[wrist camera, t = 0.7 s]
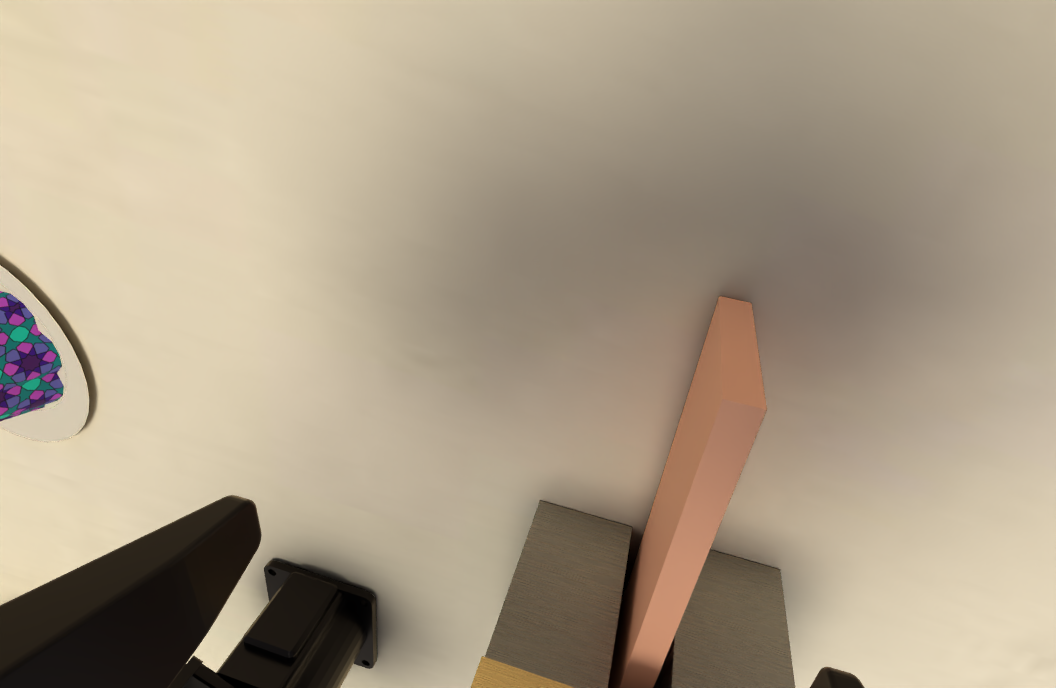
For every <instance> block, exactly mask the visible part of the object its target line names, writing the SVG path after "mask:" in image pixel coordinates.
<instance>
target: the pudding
mask: <svg viewBox="0 0 1056 688" xmlns="http://www.w3.org/2000/svg"><path fill="white" fill-rule="evenodd" d="M0 284H1V285H2V286H4V287H5V288H6V289H8V290H9V291H10V292H12V293H13V294H14V295H15V296H16V297H17V298H18V299H20V300H21V301H22V302H23V303H24V304H25V305H26V306H27V307H28V308H29V309H30V311H31V312H32V313H33V314H34V315H35V316H36V317H37V319H38V320H39V321H40V322H41V324H42V325H43V326H44V328H45V329H46V330H47V332H48V334H49V335H50V337H51V338H52V340H53V342H54V343H55V346H56V348H57V350H58V352H59V353H58V352H57V350H56V348H55V347H54V345H53V343H52V342H51V341H50V340H49V339H48V338H47V337H45V336H44V335H43V334H42V333H41V332H40V331H38V328H37V325H36V322H35V319H34V316H33V315H32V314H31V313H30V311H29V310H28V309H27V308H26V306H25V305H24V304H23V303H22V302H20V301H19V300H18V299H17V298H15V297H14V296H13V295H11V294H10V293H5V292H1V291H0V428H2V429H4V430H6V431H9V432H11V433H13V434H15V435H18V436H21V437H24V438H27V439H31V440H36V441H42V442H59V441H63V440H66V439H70V438H71V437H73V436H74V435H76V434H77V433H79V431H80V430H81V429H82V427H83V426H84V425H85V422H86V419H87V416H88V413H89V394H88V388H87V382H86V379H85V376H84V373H83V370H82V367H81V364H80V362H79V360H78V358H77V356H76V354H75V352H74V350H73V347H72V346H71V344H70V342H69V341H68V339H67V338H66V336H65V334H64V333H63V331H62V329H61V328H60V326H59V325H58V324H57V322H56V321H55V320H54V318H53V317H52V316H51V315H50V313H49V312H48V311H47V309H46V308H45V307H44V306H43V305H42V304H41V302H40V301H39V300H38V299H37V298H36V297H35V296H34V295H33V294H32V293H31V292H30V291H29V289H28V288H27V287H25V286H24V285H23V284H22V283H21V282H20V281H19V280H18V279H16V278H15V277H14V276H13V275H12V274H11V273H10V272H9V271H7V270H6V269H5V268H3V267H2V266H1V265H0ZM59 354H60V356H61V359H62V362H63V365H64V368H65V374H66V390H65V394H64V397H63V398H62V400H61V401H60V403H58V404H57V405H56V406H54V407H52V408H50V409H47V410H37V409H40V408H43V407H44V405H45V404H48V403H51V402H54V401H57V400H58V399H59V398H60V397H61V396H63V388H64V386H63V384H62V382H61V380H60V379H59V377H58V375H57V372H58V371H59V369H60V368H61V367H62V365H61V360H60V356H59Z"/></svg>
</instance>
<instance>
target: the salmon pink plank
mask: <svg viewBox="0 0 1056 688" xmlns="http://www.w3.org/2000/svg"><path fill="white" fill-rule="evenodd" d="M766 411H767V407H766V400H765V393H764V386H763V380H762V373H761V366H760V359H759V352H758V345H757V338H756V331H755V324H754V318H753V311H752V304H751V303H749V302H745V301H740V300H735V299H731V298H726V297H721V296H719V298H718V302H717V305H716V308H715V311H714V314H713V317H712V320H711V324H710V327H709V330H708V333H707V336H706V339H705V343H704V346H703V349H702V352H701V355H700V358H699V361H698V365H697V368H696V371H695V374H694V377H693V380H692V383H691V387H690V390H689V393H688V396H687V399H686V402H685V405H684V409H683V412H682V415H681V418H680V421H679V424H678V427H677V431H676V434H675V437H674V440H673V443H672V446H671V449H670V453H669V456H668V459H667V462H666V465H665V468H664V472H663V475H662V478H661V481H660V484H659V487H658V490H657V494H656V497H655V500H654V503H653V506H652V509H651V512H650V516H649V519H648V522H647V525H646V528H645V531H644V534H643V538H642V541H641V544H640V547H639V550H638V553H637V556H636V560H635V563H634V566H633V569H632V572H631V575H630V579H629V582H628V585H627V588H626V591H625V594H624V597H623V601H622V604H621V607H620V610H619V617H618V623H617V630H616V636H615V643H614V649H613V656H612V662H611V669H610V675H609V682H608V688H653V687H654V685H655V682H656V680H657V677H658V675H659V673H660V670H661V668H662V665H663V663H664V660H665V658H666V655H667V653H668V651H669V648H670V646H671V643H672V641H673V638H674V636H675V633H676V631H677V629H678V626H679V624H680V621H681V619H682V616H683V614H684V611H685V609H686V607H687V604H688V602H689V599H690V597H691V594H692V592H693V589H694V587H695V585H696V582H697V580H698V577H699V575H700V572H701V570H702V567H703V565H704V563H705V560H706V558H707V555H708V553H709V550H710V548H711V545H712V543H713V541H714V538H715V536H716V533H717V531H718V528H719V526H720V523H721V521H722V518H723V516H724V514H725V511H726V509H727V506H728V504H729V501H730V499H731V496H732V494H733V492H734V489H735V487H736V484H737V482H738V479H739V477H740V474H741V472H742V470H743V467H744V465H745V462H746V460H747V457H748V455H749V452H750V450H751V448H752V445H753V443H754V440H755V438H756V435H757V433H758V430H759V428H760V426H761V423H762V421H763V418H764V416H765V413H766Z"/></svg>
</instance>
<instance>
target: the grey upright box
mask: <svg viewBox="0 0 1056 688" xmlns="http://www.w3.org/2000/svg"><path fill="white" fill-rule="evenodd" d="M631 532H632V527H630V526H627V525H623V524H620V523H616V522H613V521H609V520H606V519H603V518H599V517H596V516H592V515H589V514H585V513H582V512H578V511H575V510H571V509H568V508H564V507H561V506H558V505H554V504H551V503H547V502H544V501H540V502H539V505H538V508H537V511H536V514H535V516H534V519H533V522H532V525H531V528H530V531H529V533H528V536H527V539H526V542H525V545H524V548H523V550H522V553H521V556H520V559H519V562H518V565H517V567H516V570H515V573H514V576H513V579H512V582H511V584H510V587H509V590H508V593H507V596H506V599H505V601H504V604H503V607H502V610H501V613H500V616H499V618H498V621H497V624H496V627H495V630H494V633H493V635H492V638H491V641H490V644H489V647H488V650H487V652H486V655H485V657H483V656H482V657H481V660H480V663H479V666H478V669H477V671H476V674H475V677H474V680H473V683H472V685H471V688H608V682H609V675H610V669H611V662H612V656H613V649H614V643H615V636H616V630H617V623H618V617H619V610H620V604H621V597H622V590H623V584H624V577H625V571H626V564H627V558H628V551H629V545H630V538H631ZM653 688H795V683H794V675H793V667H792V659H791V651H790V643H789V635H788V627H787V620H786V612H785V604H784V596H783V588H782V580H781V572H780V570H779V569H775V568H772V567H769V566H765V565H762V564H758V563H755V562H751V561H748V560H744V559H741V558H737V557H734V556H730V555H727V554H724V553H720V552H717V551H713V550H709V553H708V555H707V558H706V560H705V563H704V565H703V567H702V570H701V572H700V575H699V577H698V580H697V582H696V585H695V587H694V589H693V592H692V594H691V597H690V599H689V602H688V604H687V607H686V609H685V611H684V614H683V616H682V619H681V621H680V624H679V626H678V629H677V631H676V633H675V636H674V638H673V641H672V643H671V646H670V648H669V651H668V653H667V655H666V658H665V660H664V663H663V665H662V668H661V670H660V673H659V675H658V677H657V680H656V682H655V685H654V687H653Z"/></svg>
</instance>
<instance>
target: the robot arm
mask: <svg viewBox="0 0 1056 688" xmlns="http://www.w3.org/2000/svg"><path fill="white" fill-rule="evenodd" d="M260 541H261V529H260V524H259V519H258V514H257V509H256V505H255V503H254V502H253V501H252V500H249V499H246V498H242V497H239V496H234V495H230V496H226V497H224V498H222V499H220V500H217V501H215V502H213V503H211V504H209V505H207V506H205V507H203V508H201V509H199V510H197V511H195V512H193V513H191V514H189V515H186V516H184V517H182V518H180V519H178V520H176V521H174V522H172V523H170V524H168V525H166V526H164V527H162V528H160V529H158V530H155V531H153V532H151V533H149V534H147V535H145V536H143V537H141V538H139V539H137V540H135V541H133V542H131V543H129V544H126V545H124V546H122V547H120V548H118V549H116V550H114V551H112V552H110V553H108V554H106V555H104V556H102V557H100V558H98V559H95V560H93V561H91V562H89V563H87V564H85V565H83V566H81V567H79V568H77V569H75V570H73V571H71V572H69V573H67V574H64V575H62V576H60V577H58V578H56V579H54V580H52V581H50V582H48V583H46V584H44V585H42V586H40V587H38V588H36V589H33V590H31V591H29V592H27V593H25V594H23V595H21V596H19V597H17V598H15V599H13V600H11V601H9V602H7V603H4V604H2V605H0V688H340V687H341V685H342V683H343V681H344V679H345V678H346V676H347V674H348V672H349V670H350V669H351V667H352V665H353V663H354V664H356V665H359V666H362V667H365V668H369V669H370V668H373V667H374V665H375V663H376V661H377V638H376V599H375V597H374V595H373V594H371V593H370V592H368V591H365V590H362V589H359V588H356V587H353V586H350V585H347V584H344V583H341V582H338V581H335V580H332V579H329V578H326V577H323V576H320V575H317V574H314V573H311V572H308V571H305V570H302V569H299V568H296V567H293V566H290V565H287V564H284V563H281V562H278V561H274V560H271V561H269V563H268V564H267V565H266V566H265V567H264V572H265V578H266V584H267V590H268V596H269V603H268V604H267V605H266V607H265V608H264V609H263V611H262V612H261V613H260V615H259V616H258V617H257V619H256V620H255V621H254V623H253V624H252V625H251V627H250V628H249V629H248V631H247V632H246V633H245V635H244V637H243V638H242V639H241V641H240V642H239V643H238V645H237V646H236V647H235V649H234V650H233V651H232V652H231V654H230V655H229V656H228V658H227V659H226V660H225V662H224V663H223V664H222V666H221V667H220V668H219V670H218V671H217V672H216V673H215V672H214V671H212V670H211V669H209V668H208V667H206V666H205V665H203V664H202V662H203V661H201V660H200V659H198V658H197V657H195V656H193V657H192V658H191V659H190V661H189V662H188V663H187V661H188V660H189V658H190V657H191V656H192V654H193V653H194V652H195V650H196V649H197V647H198V646H199V644H200V643H201V642H202V640H203V639H204V637H205V636H206V634H207V633H208V631H209V630H210V628H211V627H212V625H213V623H214V622H215V620H216V619H217V617H218V615H219V613H220V612H221V610H222V608H223V607H224V605H225V603H226V602H227V600H228V598H229V597H230V595H231V593H232V591H233V590H234V588H235V586H236V585H237V583H238V581H239V580H240V578H241V576H242V575H243V573H244V571H245V569H246V568H247V566H248V564H249V563H250V561H251V559H252V558H253V556H254V554H255V553H256V551H257V549H258V547H259V544H260ZM186 663H187V664H186ZM810 688H864V686H863V685H862V683H861V682H860V680H859V679H858V678H857V677H856V676H854V675H853V674H851V673H848V672H844V671H841V670H838V669H834V668H831V667H824V668H822V669H821V670H820V671H819V673H818V675H817V677H816V678H815V680H814V682H813V684H812V685H811V687H810Z"/></svg>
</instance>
